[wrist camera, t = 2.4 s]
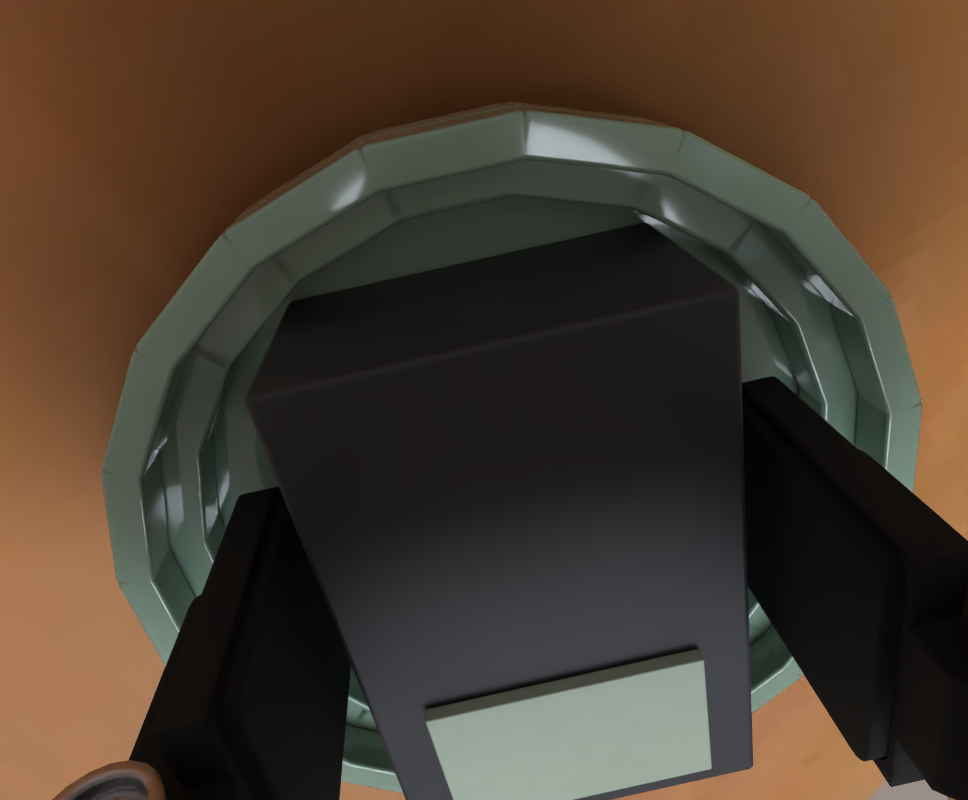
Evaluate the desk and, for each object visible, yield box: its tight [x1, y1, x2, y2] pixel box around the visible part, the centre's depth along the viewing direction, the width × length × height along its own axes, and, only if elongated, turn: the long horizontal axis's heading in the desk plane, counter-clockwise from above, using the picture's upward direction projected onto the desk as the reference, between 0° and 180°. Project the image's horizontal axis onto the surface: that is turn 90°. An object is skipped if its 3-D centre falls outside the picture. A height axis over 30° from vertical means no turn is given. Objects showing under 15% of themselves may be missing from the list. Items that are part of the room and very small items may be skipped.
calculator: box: [245, 223, 753, 800], centre depth 10 cm, size 8×5×3 cm, turn 11°
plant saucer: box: [101, 101, 922, 793], centre depth 11 cm, size 11×11×2 cm
